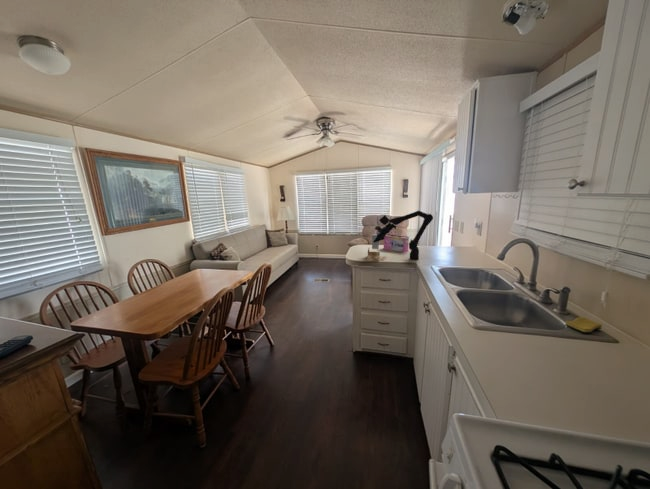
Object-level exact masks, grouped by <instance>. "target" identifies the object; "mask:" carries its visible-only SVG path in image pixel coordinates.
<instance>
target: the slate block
mask: <svg viewBox="0 0 650 489" xmlns="http://www.w3.org/2000/svg"><path fill="white" fill-rule="evenodd" d="M376 238H377V233H373V234H371V242H372V243H371V249H372V250H379V249H380V248H379V243H380V242H379V241H377V242H375V243H374V240H375V239H376Z"/></svg>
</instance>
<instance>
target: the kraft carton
mask: <svg viewBox="0 0 650 489" xmlns="http://www.w3.org/2000/svg"><path fill="white" fill-rule="evenodd" d="M380 253H381V251H370V247H368V249H367V261H371V262H372V261H373V262H388V257H387V256H380V255H381V254H380Z"/></svg>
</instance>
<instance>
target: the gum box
mask: <svg viewBox="0 0 650 489" xmlns="http://www.w3.org/2000/svg"><path fill="white" fill-rule="evenodd" d="M409 239H410V236H406V235H399V234H398V235H397V234H389V233H387V234H386V235H385V239H384V240H383V249H384V250H391V251H395V252H402V253H406V252H408V251H409V243H410V240H409Z"/></svg>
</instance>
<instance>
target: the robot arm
mask: <svg viewBox="0 0 650 489" xmlns="http://www.w3.org/2000/svg"><path fill="white" fill-rule="evenodd" d="M416 217H419V218H420V217H421V218H422V219H423V221H422V224H421V226H420V227H419V229H418V231H417V233H416V235H415V236H414V238H413V239H412V238H411V239H410V240H409V242H408V250H410V253H409V260H414V261H415V260H417V261H418V260H419V256H420V249H419V247H418V243H419V241H420V239H421V237H422V235H423V234H424V232H425V230H426V229H427V226H429V224H431V222H432V221H433V219H434V216H433V215H432V214H431V213H426V212H423V211H421V210H419V209H418V210H416V211H414V212H411V213H408V214H405V215H402V216H401V215H400V216H396V217H393V218H389V217H388V216H387V215H386V214H384V215H383V216H382V217H381V218H380V219H378V221H379V222H380V223H381V224H382V225H383V226H384V225H385V226H384V227H382V226H380V225H375V227H374V230H376V231H377V233H376V234H377V238H376V239H375V240H374V243H375V242H377V241H384V239H385V235H387V234H389V233H390V232H391V231H392V230H396V228H397V226H398V225H399V224H401V223H403V222H404V221H407V220H410V219H413V218H416Z"/></svg>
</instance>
